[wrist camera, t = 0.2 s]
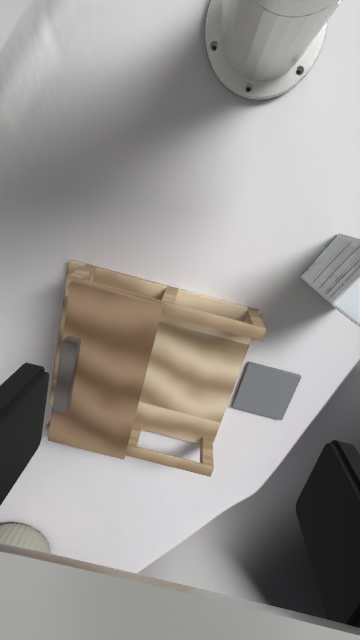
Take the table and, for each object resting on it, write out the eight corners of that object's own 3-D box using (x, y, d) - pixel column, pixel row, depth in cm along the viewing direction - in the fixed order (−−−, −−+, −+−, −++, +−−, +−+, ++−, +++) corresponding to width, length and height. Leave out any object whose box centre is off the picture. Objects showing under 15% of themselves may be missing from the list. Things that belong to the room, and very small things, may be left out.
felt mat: (248, 361, 50) (248, 363, 50) (300, 375, 51) (301, 377, 50) (232, 405, 53) (232, 407, 53) (281, 417, 53) (281, 420, 53)
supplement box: (380, 265, 44) (444, 292, 32) (337, 308, 47) (382, 347, 35) (339, 230, 43) (389, 245, 31) (297, 276, 45) (330, 305, 34)
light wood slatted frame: (71, 259, 47) (49, 271, 40) (260, 310, 47) (269, 330, 41) (51, 401, 55) (30, 430, 49) (211, 442, 56) (212, 477, 49)
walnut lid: (73, 280, 40) (63, 286, 37) (163, 304, 40) (160, 312, 38) (50, 436, 48) (41, 450, 46) (125, 455, 49) (120, 470, 46)
